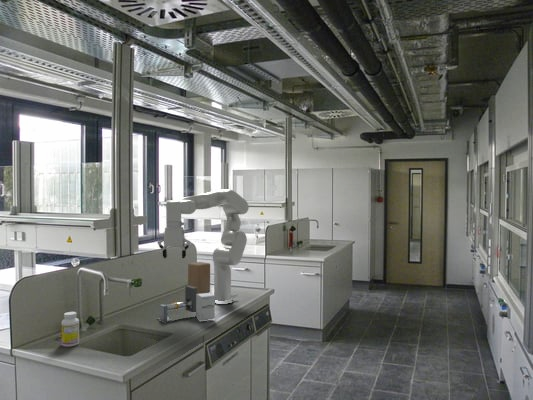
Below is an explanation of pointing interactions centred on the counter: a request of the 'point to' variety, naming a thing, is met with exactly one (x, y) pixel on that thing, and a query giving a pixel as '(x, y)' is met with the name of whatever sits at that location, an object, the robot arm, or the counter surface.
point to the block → (199, 276)
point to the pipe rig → (172, 307)
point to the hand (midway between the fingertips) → (174, 257)
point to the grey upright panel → (191, 297)
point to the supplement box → (205, 306)
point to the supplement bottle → (70, 330)
